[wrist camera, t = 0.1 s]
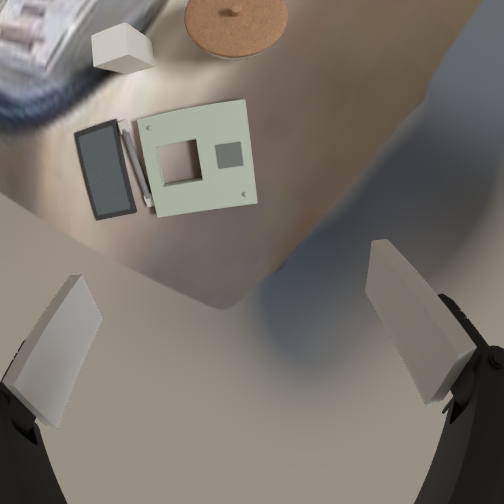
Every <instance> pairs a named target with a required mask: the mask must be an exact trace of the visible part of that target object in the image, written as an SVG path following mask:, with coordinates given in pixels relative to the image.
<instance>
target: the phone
mask: <svg viewBox="0 0 504 504" xmlns="http://www.w3.org/2000/svg"><path fill="white" fill-rule="evenodd" d="M75 138H76V143H77V148H78V153H79V157H80V162H81V166H82V170H83V174H84V178H85V182H86V186H87V190H88V193H89V197H90V201H91V204H92V207H93V211H94V214H95V217H96V220H102V219H107V218H112V217H117V216H122V215H127V214H132V213H136V212H137V209H136V205H135V201H134V198H133V194H132V190H131V185H130V181H129V177H128V173H127V168H126V164H125V159H124V154H123V149H122V144H121V139H120V134H119V128H118V123H117V119H114V120H111V121H108V122H105V123H102V124H99V125H96V126H93V127H90V128H87V129H84V130H82V131H79V132H76V133H75Z"/></svg>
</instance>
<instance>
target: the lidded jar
mask: <svg viewBox="0 0 504 504" xmlns="http://www.w3.org/2000/svg"><path fill="white" fill-rule="evenodd" d="M287 18H288V14H287V8H286V5H285V3H284V1H283V0H190V1H189V3H188V5H187V7H186V11H185V26H186V29H187V31H188V34H189V35H190V37H191V38H192V40H193V41H194V42H195V43H196V44H197V45H198V46H199V47H200V48H201V49H203V50H204V51H206V52H207V53H209V54H211V55H213V56H215V57H218V58H221V59H225V60H244V59H249V58H252V57H255V56H257V55H259V54H261V53H263V52H265V51H266V50H268V49H269V48H270V47H271V46H272V45H273V44H274V43H275V42H276V41H277V40H278V39H279V38H280V37H281V35H282V33H283V32H284V30H285V27H286V24H287Z"/></svg>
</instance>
